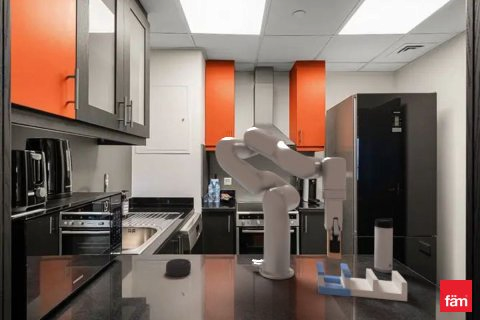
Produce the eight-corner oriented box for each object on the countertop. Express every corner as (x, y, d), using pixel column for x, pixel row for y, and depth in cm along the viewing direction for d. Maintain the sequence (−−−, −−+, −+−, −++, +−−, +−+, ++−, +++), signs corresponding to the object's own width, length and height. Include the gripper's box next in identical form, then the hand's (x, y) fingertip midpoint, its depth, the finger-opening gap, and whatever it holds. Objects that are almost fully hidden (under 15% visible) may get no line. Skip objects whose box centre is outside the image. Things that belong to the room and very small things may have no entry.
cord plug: (328, 257, 96) (328, 224, 96) (327, 254, 100) (327, 222, 100) (341, 258, 95) (341, 225, 95) (339, 255, 99) (339, 223, 99)
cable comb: (317, 293, 93) (318, 272, 93) (316, 280, 104) (316, 261, 104) (408, 302, 88) (408, 280, 88) (396, 287, 98) (396, 267, 99)
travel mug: (395, 273, 111) (396, 220, 111) (376, 272, 112) (377, 219, 113) (390, 268, 117) (391, 217, 118) (372, 266, 119) (373, 216, 119)
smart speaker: (173, 267, 114) (173, 257, 114) (194, 270, 112) (194, 259, 112) (161, 275, 106) (161, 264, 106) (183, 278, 103) (184, 267, 103)
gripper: (320, 192, 107) (320, 243, 107) (323, 196, 91) (323, 257, 90) (342, 192, 105) (342, 245, 105) (349, 197, 89) (350, 259, 89)
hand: (333, 250), depth 98 cm, fingers closed on cord plug, 4 cm apart
